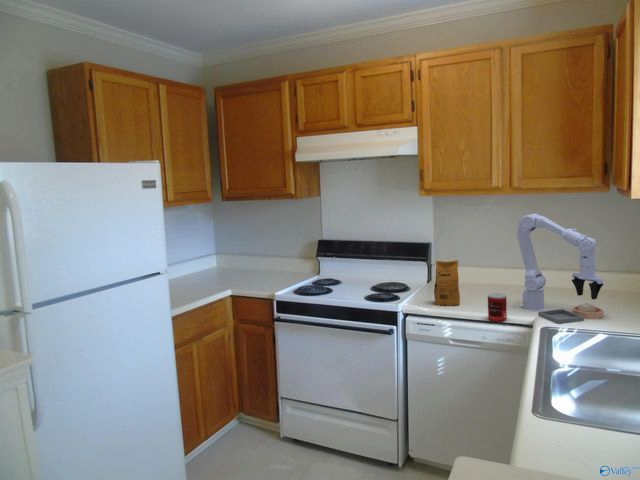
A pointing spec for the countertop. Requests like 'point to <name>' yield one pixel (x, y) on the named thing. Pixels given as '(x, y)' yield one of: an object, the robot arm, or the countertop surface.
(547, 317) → the parts tray
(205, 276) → the countertop surface
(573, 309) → the bowl
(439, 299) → the coffee package
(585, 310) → the stone block
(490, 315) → the canned food
